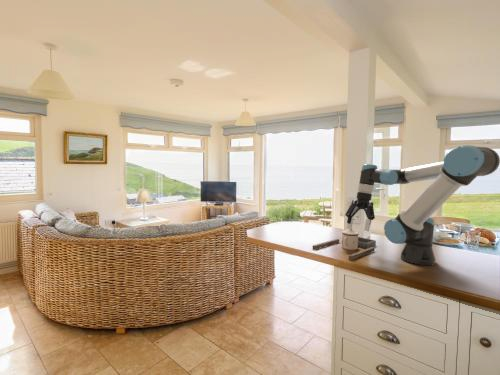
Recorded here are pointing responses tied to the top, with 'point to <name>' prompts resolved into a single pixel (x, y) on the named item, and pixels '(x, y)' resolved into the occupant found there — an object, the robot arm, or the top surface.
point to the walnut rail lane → (349, 255)
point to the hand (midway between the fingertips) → (357, 230)
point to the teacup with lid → (350, 239)
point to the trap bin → (366, 242)
